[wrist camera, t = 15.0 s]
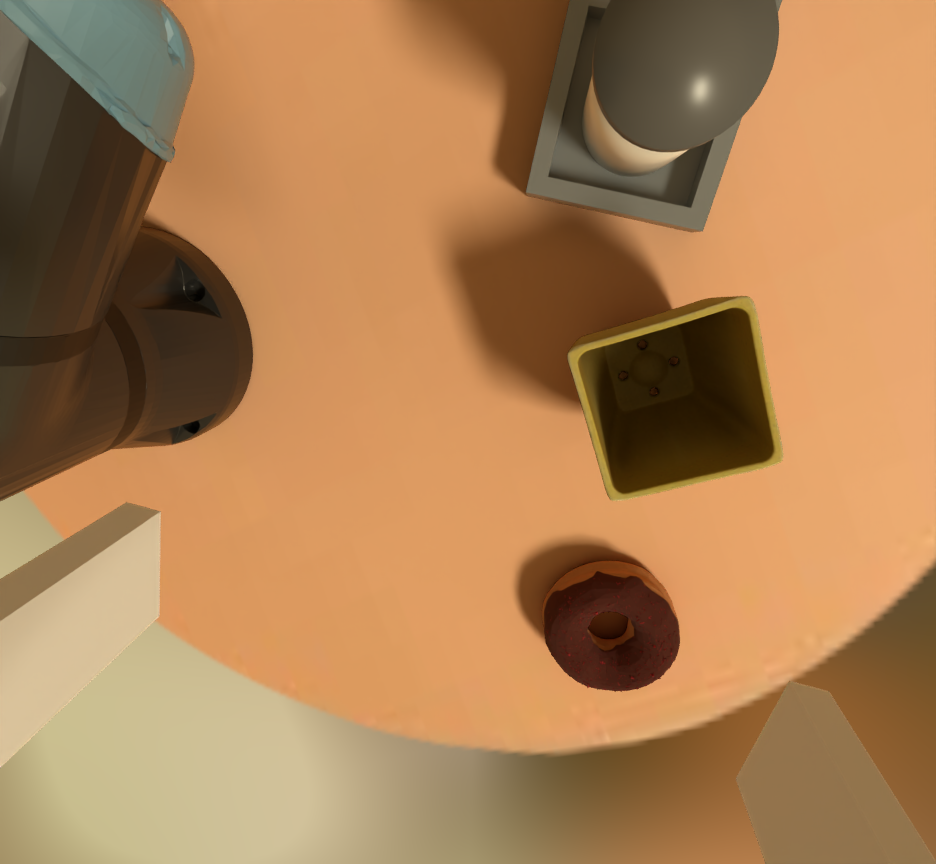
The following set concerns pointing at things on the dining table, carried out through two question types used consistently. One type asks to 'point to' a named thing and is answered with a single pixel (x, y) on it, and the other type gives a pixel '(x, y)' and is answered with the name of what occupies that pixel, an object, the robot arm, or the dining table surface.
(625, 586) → the donut
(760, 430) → the flower pot
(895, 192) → the dining table surface
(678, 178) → the cup carrier
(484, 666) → the dining table surface
